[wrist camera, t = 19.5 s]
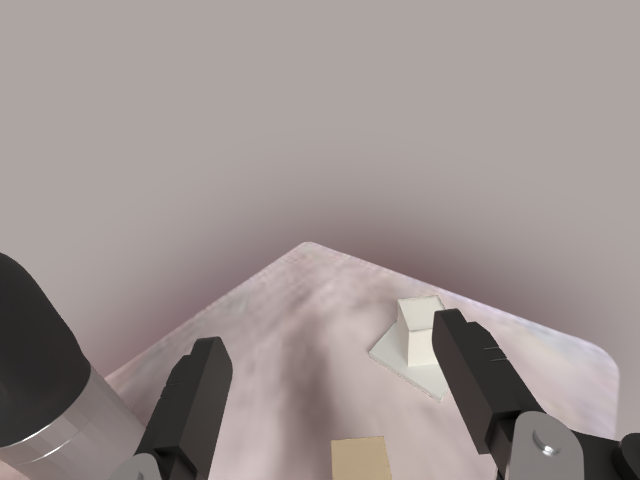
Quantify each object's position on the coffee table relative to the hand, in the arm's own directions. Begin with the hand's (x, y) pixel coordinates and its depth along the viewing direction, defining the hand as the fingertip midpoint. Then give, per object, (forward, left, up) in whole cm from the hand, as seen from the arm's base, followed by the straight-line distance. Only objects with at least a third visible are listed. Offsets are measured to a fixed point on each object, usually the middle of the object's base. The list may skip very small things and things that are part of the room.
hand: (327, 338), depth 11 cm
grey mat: (-8, +25, -33) cm, 42 cm away
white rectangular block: (-7, +25, -32) cm, 42 cm away
